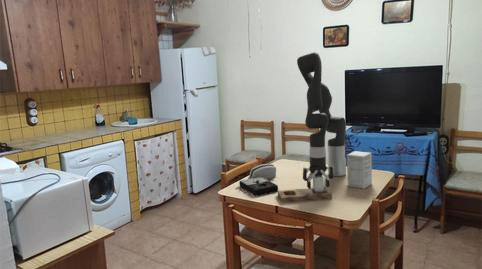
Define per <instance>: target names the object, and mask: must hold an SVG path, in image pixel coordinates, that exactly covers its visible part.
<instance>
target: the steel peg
mask: <svg viewBox="0 0 482 269" xmlns="http://www.w3.org/2000/svg"><path fill="white" fill-rule="evenodd" d="M324 187H325V186H324V176H323V175H322V176H317V177H315V176H314V177H313V178H312V188H313V193H314V194H315V193H324Z"/></svg>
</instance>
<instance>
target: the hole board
mask: <svg viewBox="0 0 482 269" xmlns="http://www.w3.org/2000/svg"><path fill="white" fill-rule="evenodd" d="M277 197H278V199H279V202H280V203H281V204H285V203H298V202H299V203H300V202H309V201H323V200H332V199H333V193H332V192H331V191H330V190H329V189H328V188H326V186H324V193H315V194H314V193H313V187H311V189H309V188H308V187H307V188H299V189H297V188H296V189H287V190H286V189H285V190H278V192H277Z"/></svg>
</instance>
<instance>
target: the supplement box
mask: <svg viewBox="0 0 482 269" xmlns="http://www.w3.org/2000/svg"><path fill="white" fill-rule="evenodd" d="M372 157H373V156H372V152H367V151H357V150H354V151H352V152H350V153H347V154H346V176H347V182H346V183H347V186H348V187H353V188H357V189H359V188H360V189H366V188H368V187H369V186H371V185H372V184H373V182H372V181H373V180H372V179H373V175H372V174H373V171H372V168H373V167H372V164H373V163H372Z"/></svg>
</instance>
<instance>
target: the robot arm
mask: <svg viewBox="0 0 482 269" xmlns="http://www.w3.org/2000/svg"><path fill="white" fill-rule="evenodd" d="M320 56H321V55H320V54H319V53H318V52H316V51H315V52H311V53H307V54H305V55H301V56H299V57H297V59H296V63H297V64H296V65H297V67H298V70H299V71H300V74H301V76H302V77H303V80H304V81H305V84H306V85H307V87H308V88H307V92H306V103H307V111H306V117H305V126H306V127H307V128H308V129H311V130H313V129H314V130H315V129H318V131H317V132H314V133H311V134H310V135H309V151H308V152H309V167H303V168H302V180H303V181H304V182H306V187H307V189H308V188H309V189H311V188H312V184H311V182H312V181H311V180H313V177H314V176H315V177H317V176H323V178H325V181H324V182H325V187H326V188H327V189H328V188H329V187H330V181H331V179H334V177H343V176H347V157H345V156H346V151H345V150H346V145H345V144H346V143H345V142H346V133H347V123H346V119H345V118H344V117H342V116H332V114H331V111H330V109H331V106H332V103H333V97H332V93H331V92H330V89H329V87H328V86H327V85H326V84H325V83H324V82H322V73H323V72H322V70H323V68H322V67H323V66H322V60H321V57H320ZM312 73H313V75H312ZM315 112H318V113H315ZM326 132H327V133H330V134H335V137H334V138H333V137H332V138H330V139H328V140H327V151H326V134H327V133H326ZM326 152H327V153H326ZM326 160H327V161H326ZM309 172H310V173H309ZM326 172H327V174H326ZM308 173H309V174H308Z"/></svg>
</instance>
